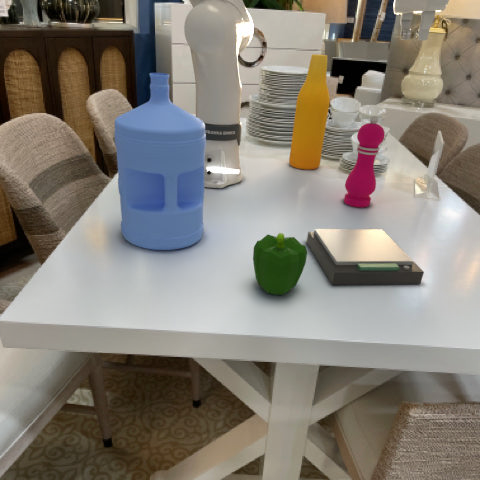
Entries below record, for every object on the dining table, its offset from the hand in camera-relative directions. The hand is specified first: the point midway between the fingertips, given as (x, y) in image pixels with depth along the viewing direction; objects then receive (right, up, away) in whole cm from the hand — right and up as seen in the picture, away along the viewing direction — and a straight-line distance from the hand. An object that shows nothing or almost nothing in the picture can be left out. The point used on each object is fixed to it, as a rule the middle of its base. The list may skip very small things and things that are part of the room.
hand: (412, 40), depth 95 cm
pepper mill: (-6, -28, +21) cm, 35 cm away
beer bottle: (-16, -10, +46) cm, 50 cm away
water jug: (-50, -40, -3) cm, 64 cm away
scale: (-13, -46, -8) cm, 48 cm away
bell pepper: (-29, -51, -18) cm, 62 cm away
